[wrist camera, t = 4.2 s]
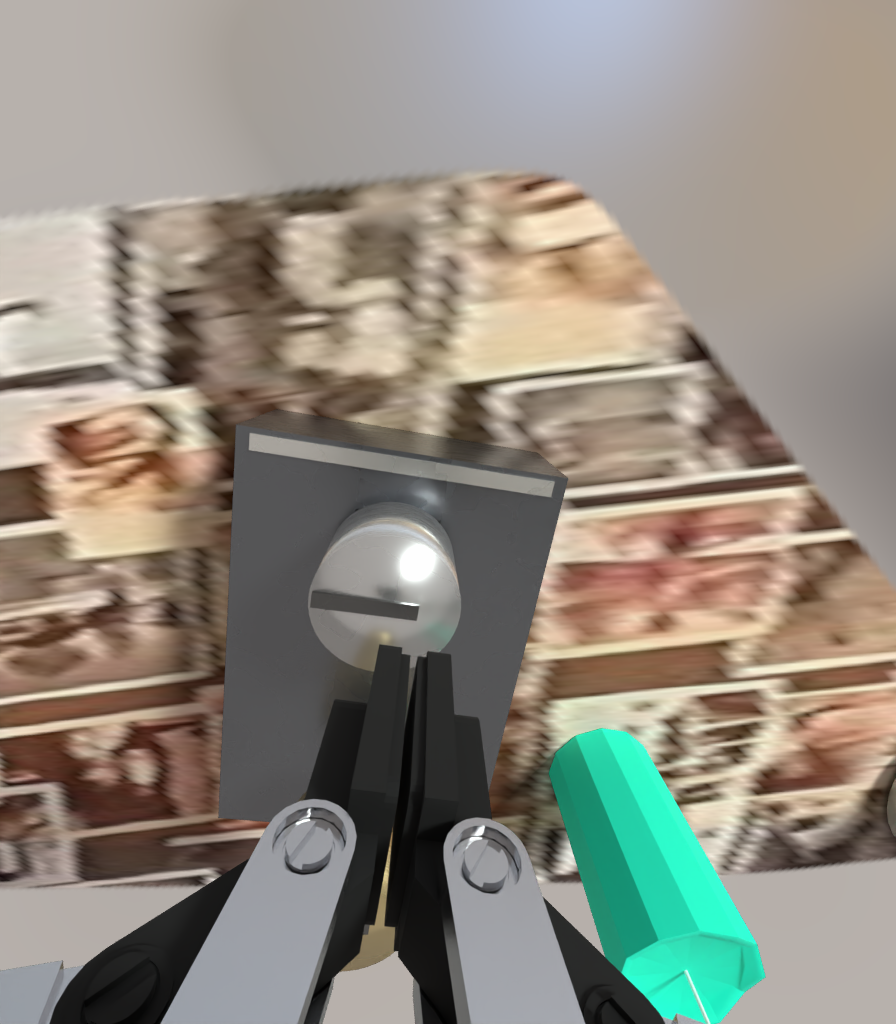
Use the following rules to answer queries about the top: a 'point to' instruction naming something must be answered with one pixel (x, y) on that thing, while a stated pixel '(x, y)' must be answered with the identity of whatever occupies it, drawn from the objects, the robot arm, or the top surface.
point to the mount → (300, 550)
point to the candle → (651, 881)
